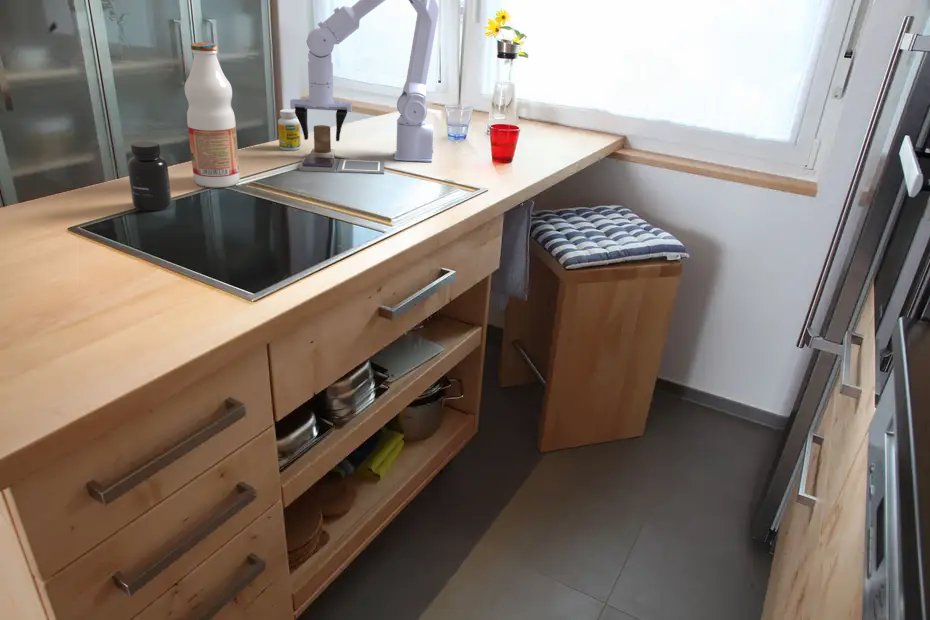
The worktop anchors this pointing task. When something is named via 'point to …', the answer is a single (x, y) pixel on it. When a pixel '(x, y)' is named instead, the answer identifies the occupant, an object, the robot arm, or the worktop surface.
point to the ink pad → (318, 164)
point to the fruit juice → (211, 120)
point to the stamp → (322, 142)
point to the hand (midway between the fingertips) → (322, 139)
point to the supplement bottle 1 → (149, 177)
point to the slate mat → (361, 166)
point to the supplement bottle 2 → (289, 130)
